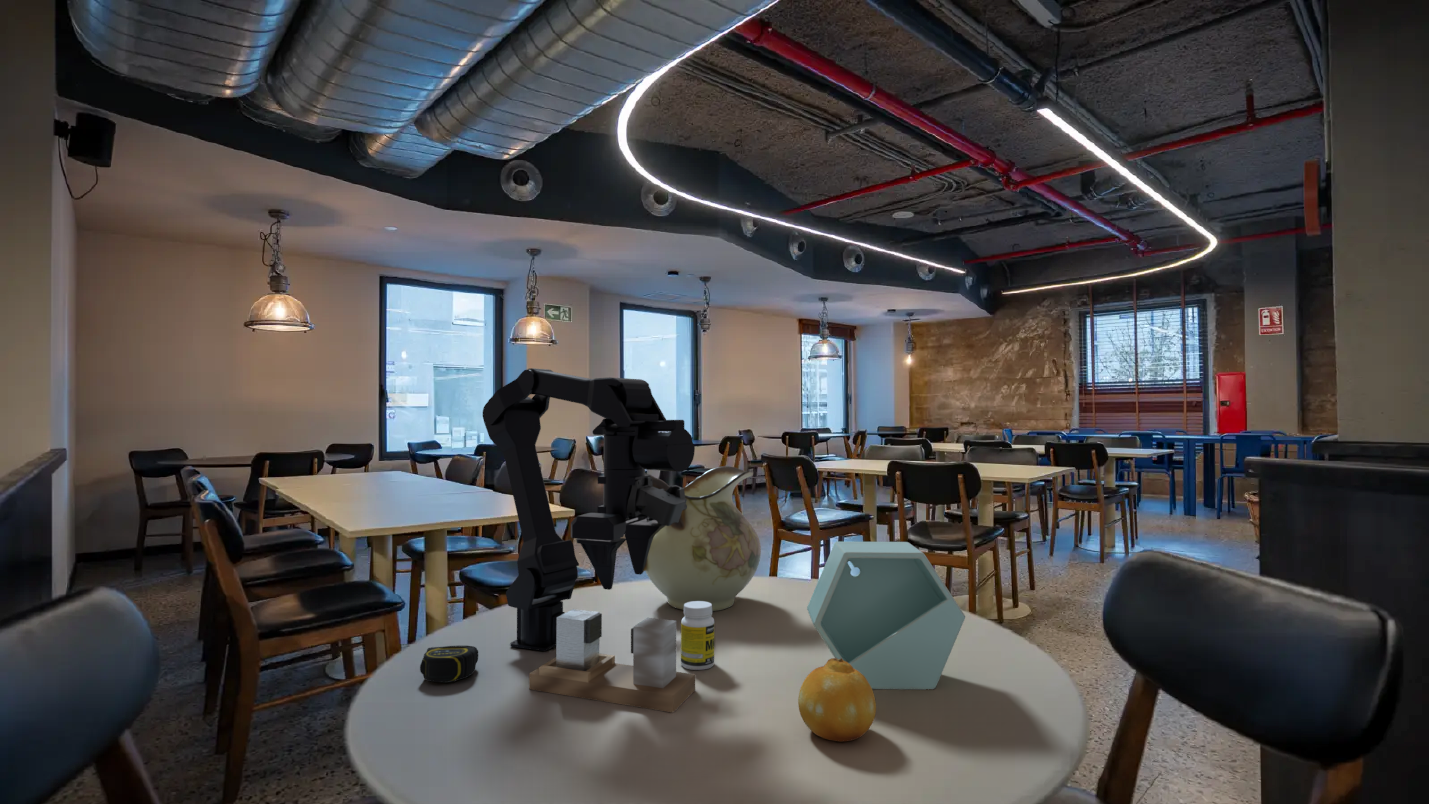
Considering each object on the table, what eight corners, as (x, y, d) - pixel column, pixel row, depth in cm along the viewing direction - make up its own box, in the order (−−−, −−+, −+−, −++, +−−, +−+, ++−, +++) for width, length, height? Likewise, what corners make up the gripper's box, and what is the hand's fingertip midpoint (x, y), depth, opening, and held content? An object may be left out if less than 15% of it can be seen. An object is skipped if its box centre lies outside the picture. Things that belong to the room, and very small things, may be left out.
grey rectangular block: (587, 677, 86) (588, 621, 86) (556, 672, 87) (556, 617, 88) (603, 666, 90) (603, 612, 90) (572, 661, 91) (573, 609, 91)
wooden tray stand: (529, 689, 87) (529, 618, 87) (559, 670, 94) (560, 604, 94) (673, 712, 80) (673, 635, 80) (695, 690, 87) (695, 619, 87)
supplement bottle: (710, 672, 93) (710, 610, 93) (677, 669, 94) (677, 608, 94) (717, 660, 98) (717, 600, 98) (685, 657, 99) (685, 599, 99)
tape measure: (479, 667, 95) (479, 640, 95) (471, 686, 88) (471, 657, 88) (427, 671, 94) (427, 643, 94) (414, 690, 87) (415, 660, 87)
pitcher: (777, 595, 133) (777, 467, 133) (730, 629, 111) (730, 476, 112) (675, 583, 142) (675, 463, 143) (613, 613, 121) (614, 471, 121)
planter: (879, 725, 87) (789, 589, 88) (866, 700, 95) (784, 574, 95) (990, 653, 87) (900, 516, 87) (968, 633, 95) (885, 508, 95)
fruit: (848, 688, 82) (825, 638, 79) (900, 719, 75) (876, 665, 72) (800, 737, 78) (775, 686, 75) (850, 774, 71) (824, 720, 69)
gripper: (648, 475, 83) (647, 604, 83) (702, 465, 101) (702, 571, 100) (568, 472, 87) (568, 596, 87) (634, 463, 105) (634, 565, 104)
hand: (623, 581), depth 94 cm, fingers open, 9 cm apart
